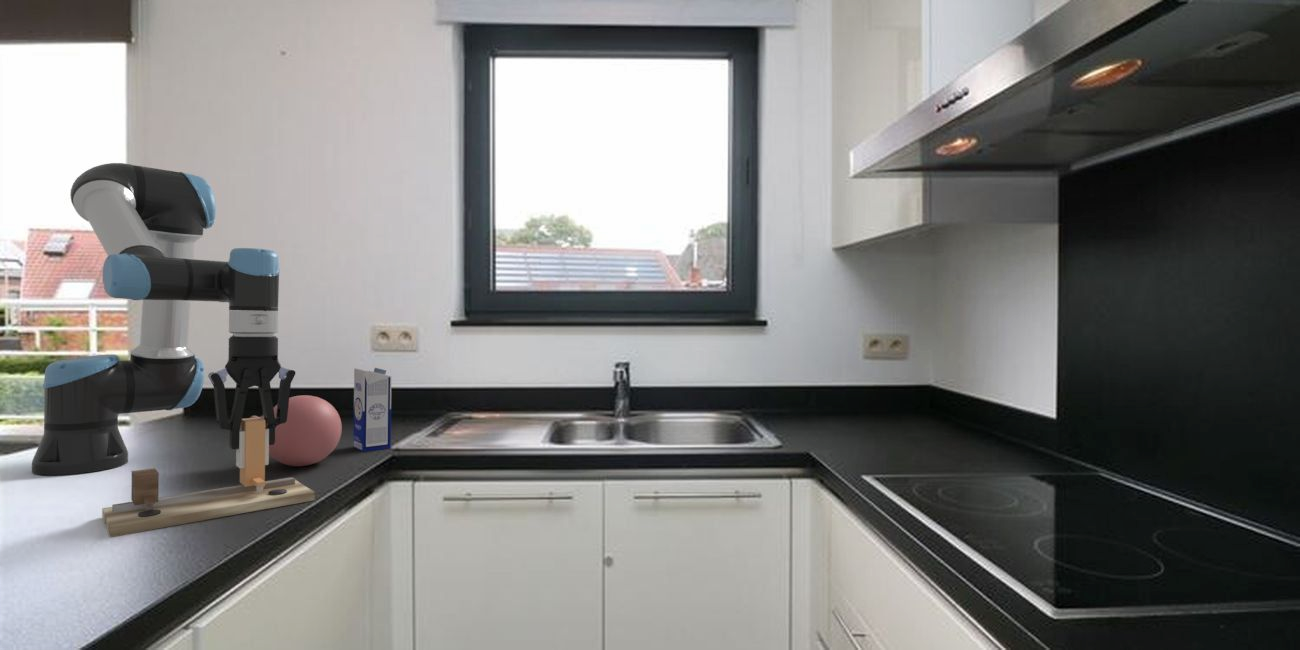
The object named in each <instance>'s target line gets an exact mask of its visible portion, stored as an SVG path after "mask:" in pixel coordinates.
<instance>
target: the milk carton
mask: <svg viewBox="0 0 1300 650" xmlns="http://www.w3.org/2000/svg"><path fill="white" fill-rule="evenodd" d="M353 370H354V371H353V376H354V377H353V437H352V438H353V445H352V446H353V448H355V450H356V449H357V450H358V451H361V452H372V451H379V450H388V449H391V446H392V445H391V442H392V441H391V437H392V375H388V374H386V373H387V369H386V370H385V369H382V368H379V367H374V369H373V371H372V370H366V369H361V368H354V369H353Z"/></svg>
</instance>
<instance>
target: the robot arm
mask: <svg viewBox="0 0 1300 650" xmlns="http://www.w3.org/2000/svg"><path fill="white" fill-rule="evenodd" d="M69 196H70V202H71V204H72V206H73V208H74V210H75V212H76V213H77V215H78V216H79V217H81V218H82V219H83V220H85V221H86V222H88V223H89V224H90V226H91V227H92V230H93V232H94V233H95V235H96V237H97V239H98V240H99V243H100V244H101V246H102V248H103V250H104V251H105V254H106V256H107V257H106V258H105V260H104V263H103V266H102V283H103V289H104V291H105V293H106V295H108V296H109V297H111V298H114V299H123V300H127V299H128V300H132V301H142V306H141V321H140V339H139V344H138V345H137V346H136V347H134V348H132V349H131V351H130V359H129V360H120V358H119V356H118V355H117V354H99V355H88V356H79V357H72V358H65V359H61V360H56V361H54V362H51V363H49V364H48V365H47V366H46V368H45V371H44V379H43V384H42V388H43V389H44V390H43V391H44V393H43V396H44V398H43V399H44V401H43V409H44V410H43V413H44V414H43V417H44V418H43V434H42V437H41V439H40V442H39V445H38V447H37V449H36V452H35V453H34V456H33V458H32V461H31V473H33V474H35V475H41V476H60V475H61V476H62V475H63V476H64V475H72V474H73V475H74V474H84V473H85V474H86V473H90V472H91V473H92V472H97V471H98V472H99V471H104V470H110V469H113V468H117V467H121V466H124V465H125V464H128V462H129V450H128V449H127V446H126V444H125V442H124V439H123V436H122V435H121V432H120V429H119V423H118V421H119V419H118V418H119V415H120V414H121V415H122V414H133V413H134V414H135V413H143V412H145V413H146V412H155V411H156V412H157V411H158V412H159V411H172V410H176V409H182V408H183V409H184V408H188V407H191V406H192V405H193V404H195V403H196V401H198V399H199V397H200V395H201V393H202V390H203V386H204V382H205V372H204V369H205V368H204V364H203V361H202V360H201V359H200V358H198V357H196V353H195V352H196V351H194V349H192V348H191V347H190V346H189V345H188V342H189V340H188V339H189V330H190V329H189V328H190V313H191V312H190V311H191V309H190V308H191V302H219V303H228V306H229V307H228V311H229V313H228V333H230V334H232V336H231V335H230V336H229V338H228V359H227V363H226V364H225V365H224V368H222V369H220V370H217V371H216V372H214V371H213V372H210V373H208V376H207V377H208V378H209V381H210V383H211V384H212V386H213V395H214V406H215V414H216V415H215V416H216V425H217V427H219V428H220V429H222V430H228V431H229V447H230V449H231V450H235V466H236V467H237V468H239V469H240V468H245V431H244V430H242V429H240V427H241V421H242V419H243V416H244V410H245V404H246V400H247V394H248V392H249V388H253V387H257V389H258V391H259V398H260V403H261V409H262V413H263V414H262V415H264V420H265V425H266V427H265V466H268V465H269V464H270V463H269V461H270V459H269V458H270V454H269V445H274V443H275V428H276V427H277V425H279V424H282V423H285V422H286V421H287V415H288V406H289V398H290V394H291V388H292V387H291V385H292V382H293V380H294V378H295V376H296V374H297V373H296V371H295V370H294V369H293V370H292V369H289V368H286V367H283V366H281V365H282V364H281V362H280V361H279V358H278V356H279V338H278V337H277V336H275V334H277V333H279V291H280V290H279V289H280V287H279V286H280V285H279V284H280V272H281V271H280V265H279V255H278V253H277V252H275V250H270V249H264V248H250V247H237V248H233V249H231V250H230V253H229V257H228V258H229V260H228V261H218V260H206V259H204V260H203V259H194V251H195V243H196V242H197V241H198V240H200V239H201V238H203V237H204V229H205V230H207V229H210V228H211V227H213V225H214V223H215V219H216V213H217V212H216V201H215V197H214V196H215V194H214V192H213V190H212V188H211V186H210V184H209V183H208V181H207V180H206V179H205V178H203V177H201V176H199V175H195V174H189V173H186V172H182V171H173V170H168V169H167V170H166V169H159V168H155V167H149V166H148V167H146V166H141V165H136V164H135V165H134V164H131V163H123V162H112V163H111V162H110V163H104V164H100V165H96V166H93V167H91V168H89V169H86V170H85V171H84V172H83V173H81V174H80V175H79V176H78V177H76V179H75V180H74V181H73V183H72V185H71V189H70V195H69ZM277 374H278V378H279V379H280V382H279V386H278V387H279V388H278V395H277V396H278V398H277V404H276V405H277V414H276V417H275V415H274V409H273V408H274V403H273V398H272V392H271V391H272V388H271V382H272V380H273V379H275V377H276V375H277ZM227 376H229V377H230V378H231V379H232V380H233V381H234V382H235V385H236V386H235V390H234V391H235V394H234V398H233V403H232V409H231V414H230V420H229V418H228V410H227V409H228V408H227V397H226V395H227V394H226V388H225V382H226V381H227Z"/></svg>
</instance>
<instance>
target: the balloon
mask: <svg viewBox="0 0 1300 650" xmlns="http://www.w3.org/2000/svg"><path fill="white" fill-rule="evenodd" d="M273 409H274V415H275V417H276V414H277V404H276V405H275V406H273ZM257 417H260V418H262V419H264V415H263V414H262V415H260V416H258V415H251V416H250V417H249V418H257ZM265 427H266V425H265ZM342 428H343V426H342V420H341V417H340V414H339V412H338V411H337V410H336V408H335V407H334V406H333V404H331V403H330V402H328V401H327V400H325V399H323V398H321V397H318V396H313V395H309V394H308V395H307V394H305V395H302V394H301V395H296V396H295V395H294V396H291V397H289V406H288V415H287V421H286V422H285V423H282V424H279V425H277V427H276V428H275V443H274V445H269V456H271V457H272V458H273V459H275V460H276V461H277V462H278V463H281V464H283V465H287V466H290V467H306V466H311V465H314V464H316V463H319V462H321V461H322V460H325V458H327V457H328V456H330V454H332V452H333V451H334V450H335V449H336V448H337V446H338V444H339V443H340V440H341V436H342V432H343V431H342V430H343V429H342Z"/></svg>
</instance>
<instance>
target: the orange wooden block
mask: <svg viewBox="0 0 1300 650" xmlns="http://www.w3.org/2000/svg"><path fill="white" fill-rule="evenodd" d="M260 417H261V416H258V417H257V418H250V417H249V418H242V421H241V427H240V429H242V430H244V431H245V468H239V483H240V485H244V486H245V487H248V486H254V485H255V486H256V492H258V493H259V492H263V487H264V486H265V481H266V465H265V420H264V419H262V418H260Z"/></svg>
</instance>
